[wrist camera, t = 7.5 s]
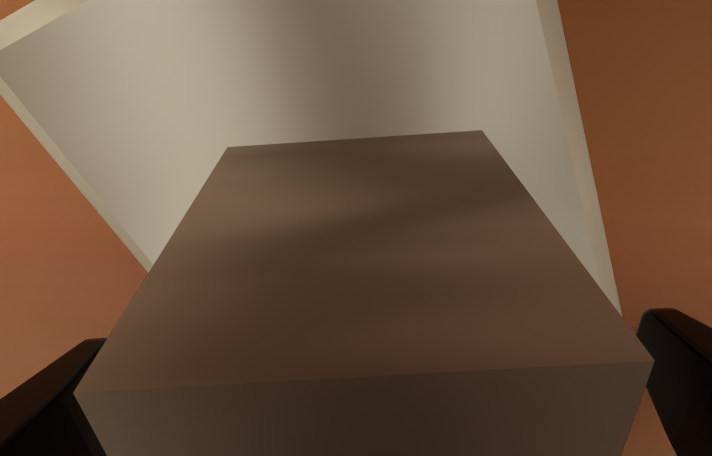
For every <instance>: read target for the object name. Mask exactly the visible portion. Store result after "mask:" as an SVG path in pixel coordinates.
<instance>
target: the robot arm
mask: <svg viewBox="0 0 712 456" xmlns="http://www.w3.org/2000/svg"><path fill="white" fill-rule="evenodd" d="M636 336H637V338H638V339H639V340H640V342H641V343H642V344H643V346H644V347H645V348H646V350H647V351H648V352H649V354H650V355H651V356H652V358H653V359H654V360H655V361H654V364H653V367H652V370H651V373H650V375H649V378H648V381H647V384H646V388H647V390H648V392H649V395H650V397H651V399H652V402H653V404H654V406H655V409H656V411H657V413H658V416H659V418H660V420H661V423H662V425H663V427H664V430H665V432H666V434H667V436H668V438H669V440H670V443H671V445H672V447H673V449H674V450H675V452H676V454H677V456H712V328H711V327H709V326H707V325H705V324H703V323H701V322H699V321H697V320H695V319H693V318H692V317H690V316H688V315H686V314H684V313H682V312H680V311H678V310H676V309H673V308H657V309H649V310H646V311H645V312H644V313H643V315H642V318H641V321H640V324H639V327H638V330H637V333H636ZM106 340H107V338H95V339H87V340H84V341H83V342H81V343H80V344H78V345H77V346H75V347H74V348H73V349H71V350H70V351H68V352H67V353H65V354H64V355H63V356H61V357H60V358H58V359H57V360H55V361H54V362H53V363H51V364H50V365H48V366H47V367H46V368H44V369H43V370H41V371H40V372H38V373H37V374H36V375H34V376H33V377H31V378H30V379H28V380H27V381H26V382H24V383H23V384H21V385H20V386H18V387H17V388H16V389H14V390H13V391H11V392H10V393H8V394H7V395H6V396H4V397H3V398H1V399H0V456H107V455H106V453H105V451H104V449H103V447H102V446H101V444H100V442H99V440H98V438H97V436H96V434H95V433H94V431H93V429H92V427H91V425H90V423H89V421H88V420H87V418H86V416H85V414H84V412H83V410H82V408H81V407H80V405H79V403H78V401H77V399H76V397H75V396H74V394H73V392H74V391H75V389H76V388H77V386H78V384H79V383H80V381H81V380H82V378H83V376H84V375H85V373H86V372H87V370H88V368H89V367H90V365H91V364H92V362H93V360H94V359H95V357H96V356H97V354H98V352H99V351H100V349H101V348H102V346H103V344H104V343H105V341H106Z"/></svg>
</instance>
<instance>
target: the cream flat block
mask: <svg viewBox="0 0 712 456" xmlns="http://www.w3.org/2000/svg"><path fill="white" fill-rule="evenodd" d="M0 95H1V96H2V97H3V98H4V100H5V101H6V102H7V103H8V105H9V106H10V107H11V108H12V109H13V111H14V112H15V113H16V114H17V115H18V117H19V118H20V119H21V120H22V121H23V123H24V124H25V125H26V126H27V127H28V129H29V130H30V131H31V132H32V133H33V135H34V136H35V137H36V138H37V139H38V141H39V142H40V143H41V144H42V145H43V147H44V148H45V149H46V150H47V152H48V153H49V154H50V155H51V156H52V158H53V159H54V160H55V161H56V162H57V164H58V165H59V166H60V167H61V168H62V170H63V171H64V172H65V173H66V174H67V176H68V177H69V178H70V179H71V180H72V182H73V183H74V184H75V185H76V186H77V188H78V189H79V190H80V191H81V192H82V194H83V195H84V196H85V197H86V199H87V200H88V201H89V202H90V203H91V205H92V206H93V207H94V208H95V209H96V211H97V212H98V213H99V214H100V215H101V217H102V218H103V219H104V220H105V221H106V223H107V224H108V225H109V226H110V227H111V229H112V230H113V231H114V232H115V233H116V235H117V236H118V237H119V238H120V239H121V241H122V242H123V243H124V244H125V246H126V247H127V248H128V249H129V250H130V252H131V253H132V254H133V255H134V256H135V258H136V259H137V260H138V261H139V262H140V264H141V265H142V266H143V267H144V268H145V270H146V271H147V272H148V273H149V271H150V270H151V268H152V266H153V265H154V263H155V262H156V260H157V258H158V257H159V255H160V254H161V252H162V250H163V249H164V247H165V246H166V244H167V243H168V241H169V239H170V238H171V236H172V235H173V233H174V231H175V230H176V228H177V227H178V225H179V223H180V222H181V220H182V219H183V217H184V215H185V214H186V212H187V211H188V209H189V207H190V206H191V204H192V203H193V201H194V199H195V198H196V196H197V195H198V193H199V192H200V190H201V188H202V187H203V185H204V184H205V182H206V180H207V179H208V177H209V176H210V174H211V172H212V171H213V169H214V168H215V166H216V164H217V163H218V161H219V160H220V158H221V156H222V155H223V153H224V152H225V150H226V149H227V147H236V146H251V145H266V144H281V143H296V142H311V141H326V140H341V139H356V138H371V137H386V136H401V135H416V134H431V133H446V132H461V131H476V130H482V131H483V132H484V134H485V135H486V136H487V138H488V139H489V140H490V142H491V143H492V144H493V146H494V147H495V148H496V150H497V151H498V152H499V154H500V155H501V156H502V158H503V159H504V160H505V162H506V163H507V164H508V166H509V167H510V168H511V170H512V171H513V172H514V174H515V175H516V176H517V178H518V179H519V180H520V182H521V183H522V184H523V186H524V187H525V188H526V190H527V191H528V192H529V194H530V195H531V196H532V198H533V199H534V200H535V202H536V203H537V204H538V206H539V207H540V208H541V210H542V211H543V212H544V214H545V215H546V216H547V218H548V219H549V220H550V222H551V223H552V224H553V226H554V227H555V228H556V230H557V231H558V232H559V234H560V235H561V236H562V238H563V239H564V240H565V242H566V243H567V244H568V246H569V247H570V248H571V250H572V251H573V252H574V254H575V255H576V256H577V258H578V259H579V260H580V262H581V263H582V264H583V266H584V267H585V268H586V270H587V271H588V272H589V274H590V275H591V276H592V278H593V279H594V280H595V282H596V283H597V284H598V286H599V287H600V288H601V290H602V291H603V292H604V294H605V295H606V296H607V298H608V299H609V300H610V302H611V303H612V304H613V306H614V307H615V308H616V310H617V311H618V312H619V314H620V315H621V316H622V313H621V308H620V303H619V298H618V293H617V289H616V284H615V279H614V274H613V269H612V264H611V259H610V255H609V250H608V245H607V240H606V235H605V230H604V225H603V221H602V216H601V211H600V206H599V201H598V196H597V191H596V187H595V182H594V177H593V172H592V167H591V162H590V157H589V153H588V148H587V143H586V138H585V133H584V128H583V123H582V119H581V114H580V109H579V104H578V99H577V94H576V89H575V85H574V80H573V75H572V70H571V65H570V60H569V55H568V51H567V46H566V41H565V36H564V31H563V26H562V21H561V17H560V12H559V7H558V2H557V0H35V1H33V2H31V3H29V4H28V5H26V6H24V7H23V8H21V9H19V10H17V11H16V12H14V13H12V14H10V15H9V16H7V17H5V18H4V19H2V20H0Z"/></svg>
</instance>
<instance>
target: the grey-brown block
mask: <svg viewBox="0 0 712 456" xmlns="http://www.w3.org/2000/svg"><path fill="white" fill-rule="evenodd" d="M654 361H655V360H654V359H653V358H652V356H651V355H650V354H649V352H648V351H647V350H646V348H645V347H644V346H643V344H642V343H641V342H640V340H639V339H638V338H637V336H636V335H635V334H634V332H633V331H632V330H631V328H630V327H629V326H628V324H627V323H626V322H625V320H624V319H623V318H622V316H621V315H620V314H619V312H618V311H617V310H616V308H615V307H614V306H613V304H612V303H611V302H610V300H609V299H608V298H607V296H606V295H605V294H604V292H603V291H602V290H601V288H600V287H599V286H598V284H597V283H596V282H595V280H594V279H593V278H592V276H591V275H590V274H589V272H588V271H587V270H586V268H585V267H584V266H583V264H582V263H581V262H580V260H579V259H578V258H577V256H576V255H575V254H574V252H573V251H572V250H571V248H570V247H569V246H568V244H567V243H566V242H565V240H564V239H563V238H562V236H561V235H560V234H559V232H558V231H557V230H556V228H555V227H554V226H553V224H552V223H551V222H550V220H549V219H548V218H547V216H546V215H545V214H544V212H543V211H542V210H541V208H540V207H539V206H538V204H537V203H536V202H535V200H534V199H533V198H532V196H531V195H530V194H529V192H528V191H527V190H526V188H525V187H524V186H523V184H522V183H521V182H520V180H519V179H518V178H517V176H516V175H515V174H514V172H513V171H512V170H511V168H510V167H509V166H508V164H507V163H506V162H505V160H504V159H503V158H502V156H501V155H500V154H499V152H498V151H497V150H496V148H495V147H494V146H493V144H492V143H491V142H490V140H489V139H488V138H487V136H486V135H485V134H484V132H483V131H482V130H476V131H461V132H446V133H431V134H416V135H401V136H386V137H371V138H356V139H341V140H326V141H311V142H296V143H281V144H266V145H251V146H236V147H227V149H226V150H225V152H224V153H223V155H222V156H221V158H220V160H219V161H218V163H217V164H216V166H215V168H214V169H213V171H212V172H211V174H210V176H209V177H208V179H207V180H206V182H205V184H204V185H203V187H202V188H201V190H200V192H199V193H198V195H197V196H196V198H195V199H194V201H193V203H192V204H191V206H190V207H189V209H188V211H187V212H186V214H185V215H184V217H183V219H182V220H181V222H180V223H179V225H178V227H177V228H176V230H175V231H174V233H173V235H172V236H171V238H170V239H169V241H168V243H167V244H166V246H165V247H164V249H163V250H162V252H161V254H160V255H159V257H158V258H157V260H156V262H155V263H154V265H153V266H152V268H151V270H150V271H149V273H148V274H147V276H146V278H145V279H144V281H143V282H142V284H141V286H140V287H139V289H138V290H137V292H136V293H135V295H134V297H133V298H132V300H131V301H130V303H129V305H128V306H127V308H126V309H125V311H124V313H123V314H122V316H121V317H120V319H119V321H118V322H117V324H116V325H115V327H114V329H113V330H112V332H111V333H110V335H109V337H108V338H107V340H106V341H105V343H104V344H103V346H102V348H101V349H100V351H99V352H98V354H97V356H96V357H95V359H94V360H93V362H92V364H91V365H90V367H89V368H88V370H87V372H86V373H85V375H84V376H83V378H82V380H81V381H80V383H79V384H78V386H77V388H76V389H75V391H74V392H73V394H74V396H75V397H76V399H77V401H78V403H79V405H80V407H81V408H82V410H83V412H84V414H85V416H86V418H87V420H88V421H89V423H90V425H91V427H92V429H93V431H94V433H95V434H96V436H97V438H98V440H99V442H100V444H101V446H102V447H103V449H104V451H105V453H106V455H107V456H621V454H622V451H623V448H624V446H625V443H626V440H627V437H628V434H629V432H630V429H631V426H632V423H633V420H634V417H635V415H636V412H637V409H638V406H639V403H640V401H641V398H642V395H643V392H644V389H645V387H646V384H647V381H648V378H649V375H650V373H651V370H652V367H653V364H654Z"/></svg>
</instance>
